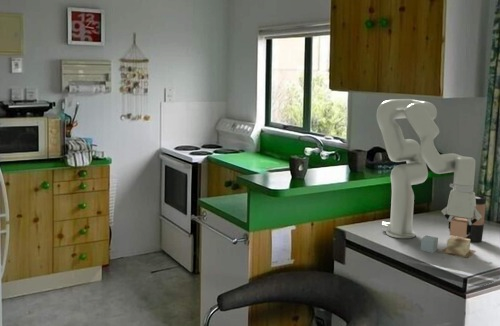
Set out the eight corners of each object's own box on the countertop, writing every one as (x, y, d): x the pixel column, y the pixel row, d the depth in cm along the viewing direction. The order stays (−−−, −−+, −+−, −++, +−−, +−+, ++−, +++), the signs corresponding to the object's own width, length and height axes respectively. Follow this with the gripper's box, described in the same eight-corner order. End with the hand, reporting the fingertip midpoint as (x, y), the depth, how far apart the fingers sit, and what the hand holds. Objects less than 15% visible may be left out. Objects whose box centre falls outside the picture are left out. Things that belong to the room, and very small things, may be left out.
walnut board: (439, 254, 229) (439, 252, 229) (448, 247, 238) (448, 245, 237) (467, 260, 223) (467, 258, 222) (475, 253, 231) (475, 250, 231)
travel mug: (472, 246, 240) (476, 199, 236) (459, 240, 247) (462, 195, 243) (486, 243, 243) (490, 197, 239) (472, 238, 250) (476, 193, 246)
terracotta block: (449, 235, 228) (450, 220, 227) (454, 231, 233) (455, 217, 232) (465, 237, 224) (466, 223, 223) (469, 234, 229) (470, 219, 228)
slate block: (420, 252, 231) (421, 238, 230) (424, 249, 235) (425, 235, 234) (432, 255, 229) (433, 240, 227) (437, 251, 232) (438, 237, 231)
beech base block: (446, 252, 229) (447, 240, 228) (451, 247, 235) (452, 235, 234) (464, 255, 225) (465, 243, 224) (469, 251, 231) (470, 239, 230)
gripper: (438, 186, 227) (435, 230, 230) (483, 193, 217) (479, 238, 220) (444, 183, 233) (441, 226, 236) (488, 189, 223) (485, 234, 226)
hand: (459, 231), depth 228 cm, fingers closed on terracotta block, 6 cm apart
